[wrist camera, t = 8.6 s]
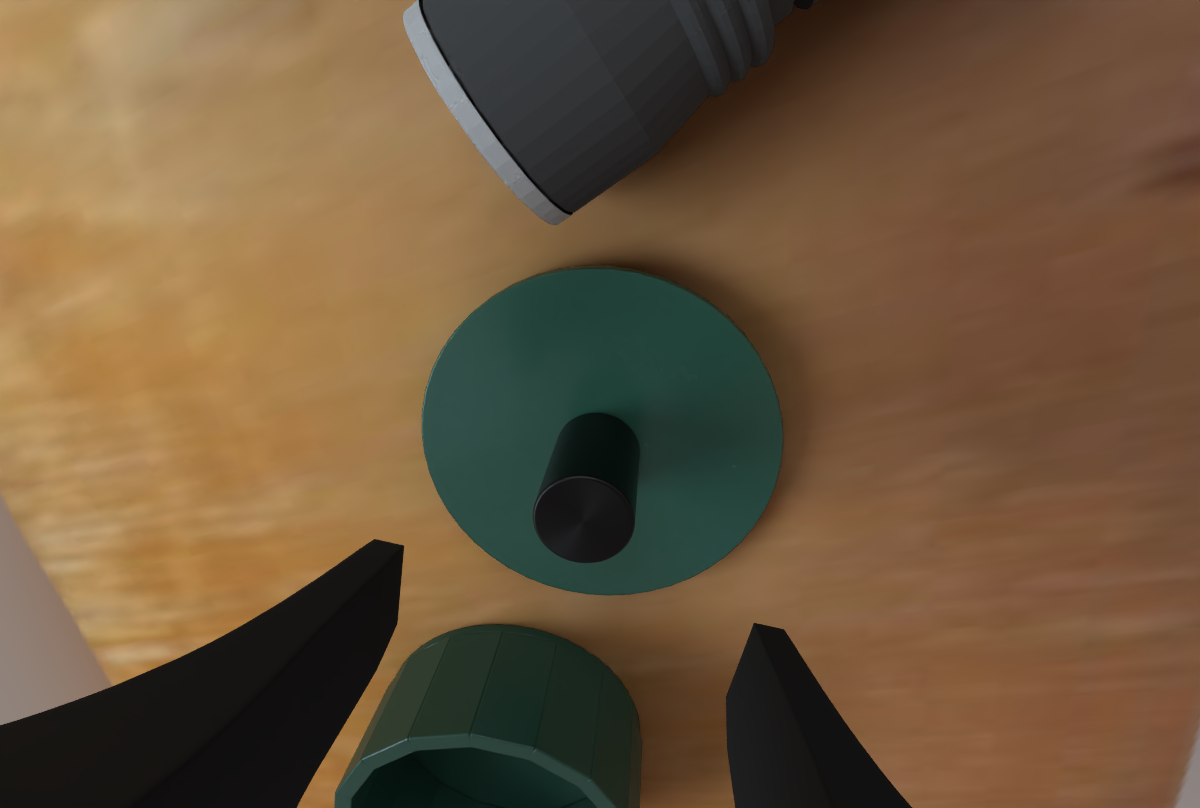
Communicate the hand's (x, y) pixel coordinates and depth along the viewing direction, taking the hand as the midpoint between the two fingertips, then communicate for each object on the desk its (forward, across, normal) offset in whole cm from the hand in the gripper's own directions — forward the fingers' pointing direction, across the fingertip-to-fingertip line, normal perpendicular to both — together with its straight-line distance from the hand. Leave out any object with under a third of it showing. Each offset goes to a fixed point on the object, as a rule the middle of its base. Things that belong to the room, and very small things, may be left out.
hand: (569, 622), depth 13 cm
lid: (+8, 0, 0) cm, 8 cm away
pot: (+8, +1, +14) cm, 16 cm away
